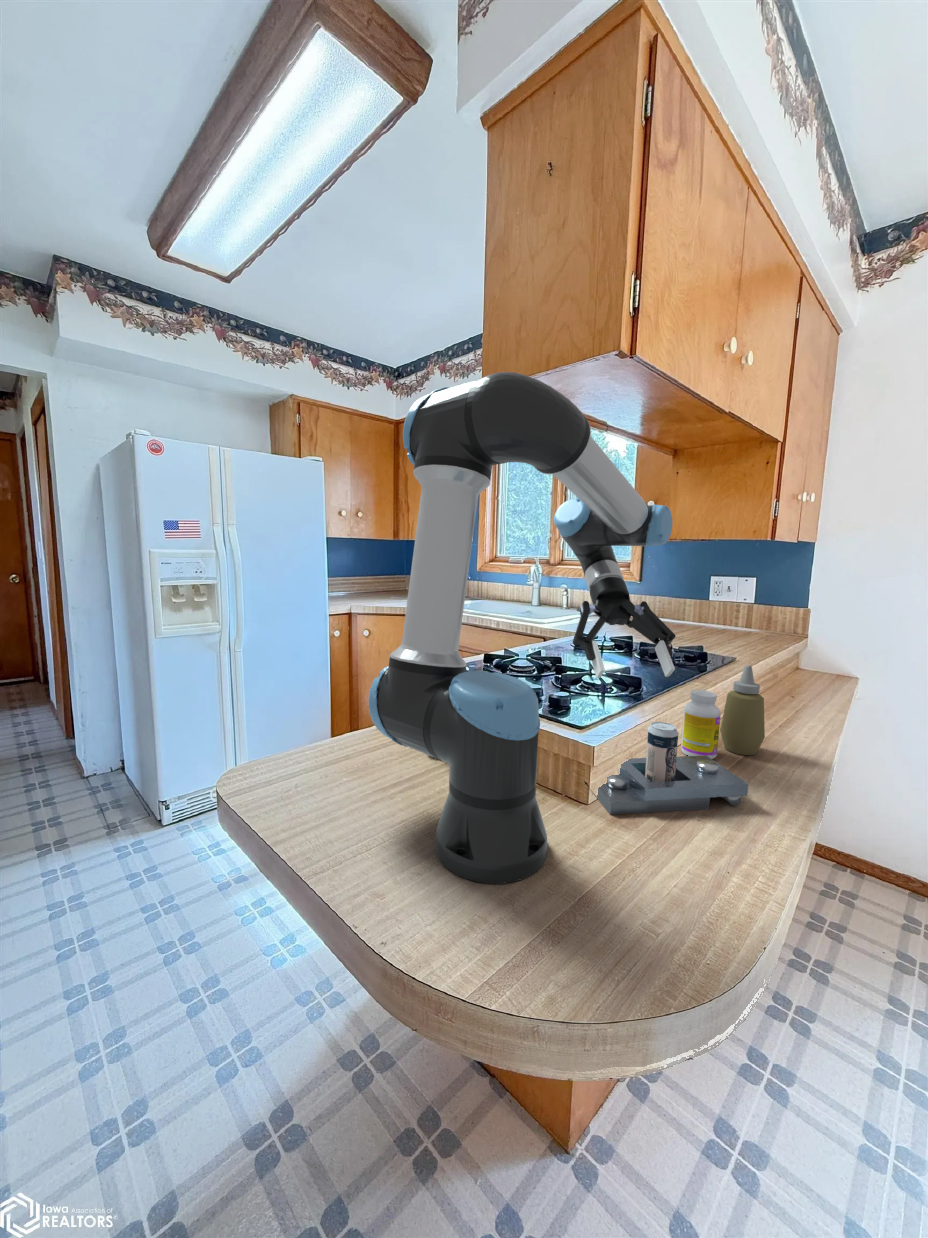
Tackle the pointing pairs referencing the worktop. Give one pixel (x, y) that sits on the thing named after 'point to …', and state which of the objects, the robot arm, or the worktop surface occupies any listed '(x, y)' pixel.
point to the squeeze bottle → (743, 716)
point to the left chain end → (640, 799)
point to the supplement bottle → (701, 725)
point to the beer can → (661, 752)
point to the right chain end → (686, 780)
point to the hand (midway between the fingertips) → (635, 673)
